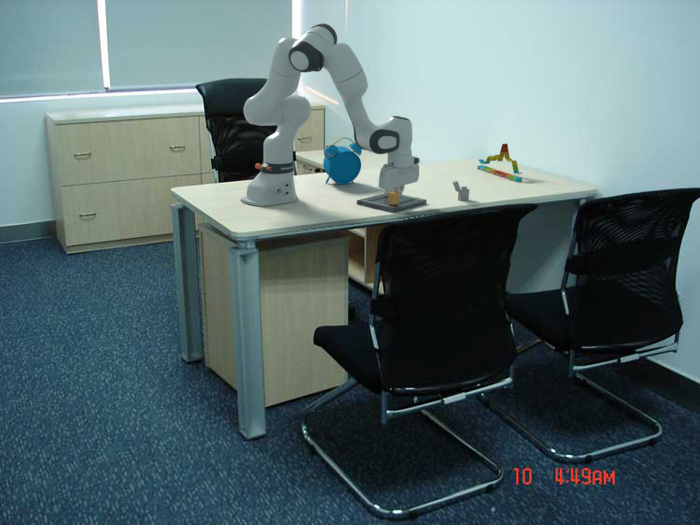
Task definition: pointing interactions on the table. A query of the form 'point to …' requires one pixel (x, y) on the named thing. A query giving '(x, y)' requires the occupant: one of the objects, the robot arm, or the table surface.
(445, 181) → the table surface
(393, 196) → the orange wooden block
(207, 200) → the table surface
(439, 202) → the table surface
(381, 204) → the dark grey tray
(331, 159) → the alarm clock
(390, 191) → the white small block
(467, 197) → the lighter
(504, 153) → the chart
